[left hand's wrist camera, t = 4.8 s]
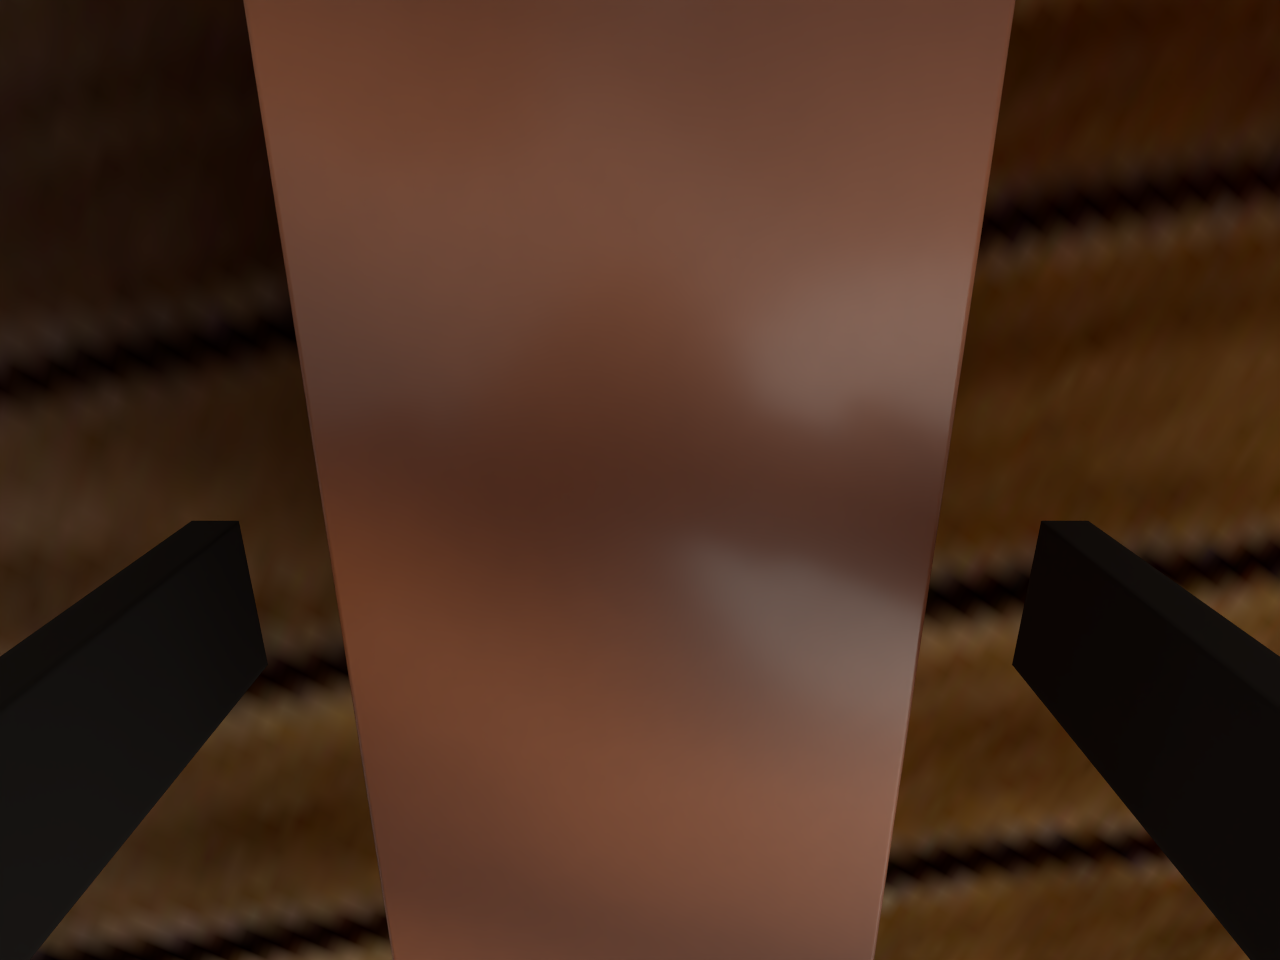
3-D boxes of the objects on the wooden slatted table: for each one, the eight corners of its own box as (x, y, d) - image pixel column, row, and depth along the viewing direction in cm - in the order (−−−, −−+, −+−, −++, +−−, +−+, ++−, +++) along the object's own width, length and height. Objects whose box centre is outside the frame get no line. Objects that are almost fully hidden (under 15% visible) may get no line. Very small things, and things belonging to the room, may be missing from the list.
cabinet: (442, -159, 13) (117, -770, 5) (823, -158, 13) (1133, -764, 5) (502, 673, 19) (401, 1027, 11) (766, 672, 19) (866, 1025, 11)
